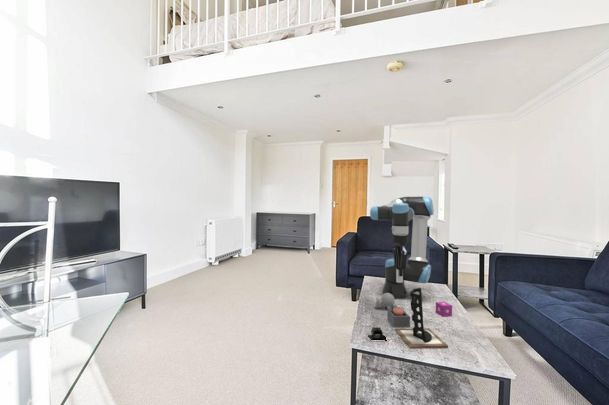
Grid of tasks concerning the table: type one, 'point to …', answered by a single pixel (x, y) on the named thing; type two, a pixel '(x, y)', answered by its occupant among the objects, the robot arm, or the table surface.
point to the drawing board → (418, 343)
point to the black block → (377, 334)
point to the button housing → (398, 319)
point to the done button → (398, 311)
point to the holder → (415, 316)
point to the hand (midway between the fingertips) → (399, 282)
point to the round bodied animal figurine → (386, 301)
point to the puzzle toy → (443, 309)
